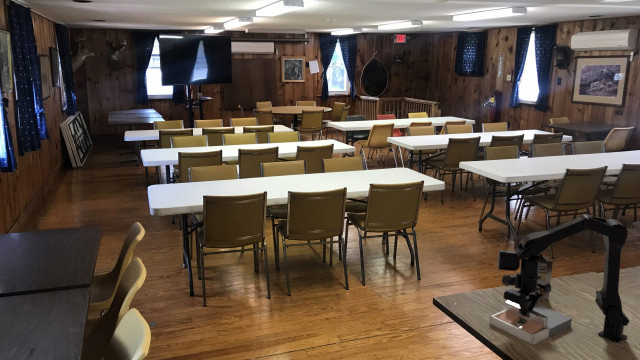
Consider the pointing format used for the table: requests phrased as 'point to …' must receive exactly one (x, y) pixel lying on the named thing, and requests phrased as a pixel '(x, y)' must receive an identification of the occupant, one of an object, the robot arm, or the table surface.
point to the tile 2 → (531, 328)
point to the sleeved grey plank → (528, 314)
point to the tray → (518, 329)
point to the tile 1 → (509, 317)
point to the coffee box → (545, 275)
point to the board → (552, 320)
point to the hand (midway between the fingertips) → (525, 314)
